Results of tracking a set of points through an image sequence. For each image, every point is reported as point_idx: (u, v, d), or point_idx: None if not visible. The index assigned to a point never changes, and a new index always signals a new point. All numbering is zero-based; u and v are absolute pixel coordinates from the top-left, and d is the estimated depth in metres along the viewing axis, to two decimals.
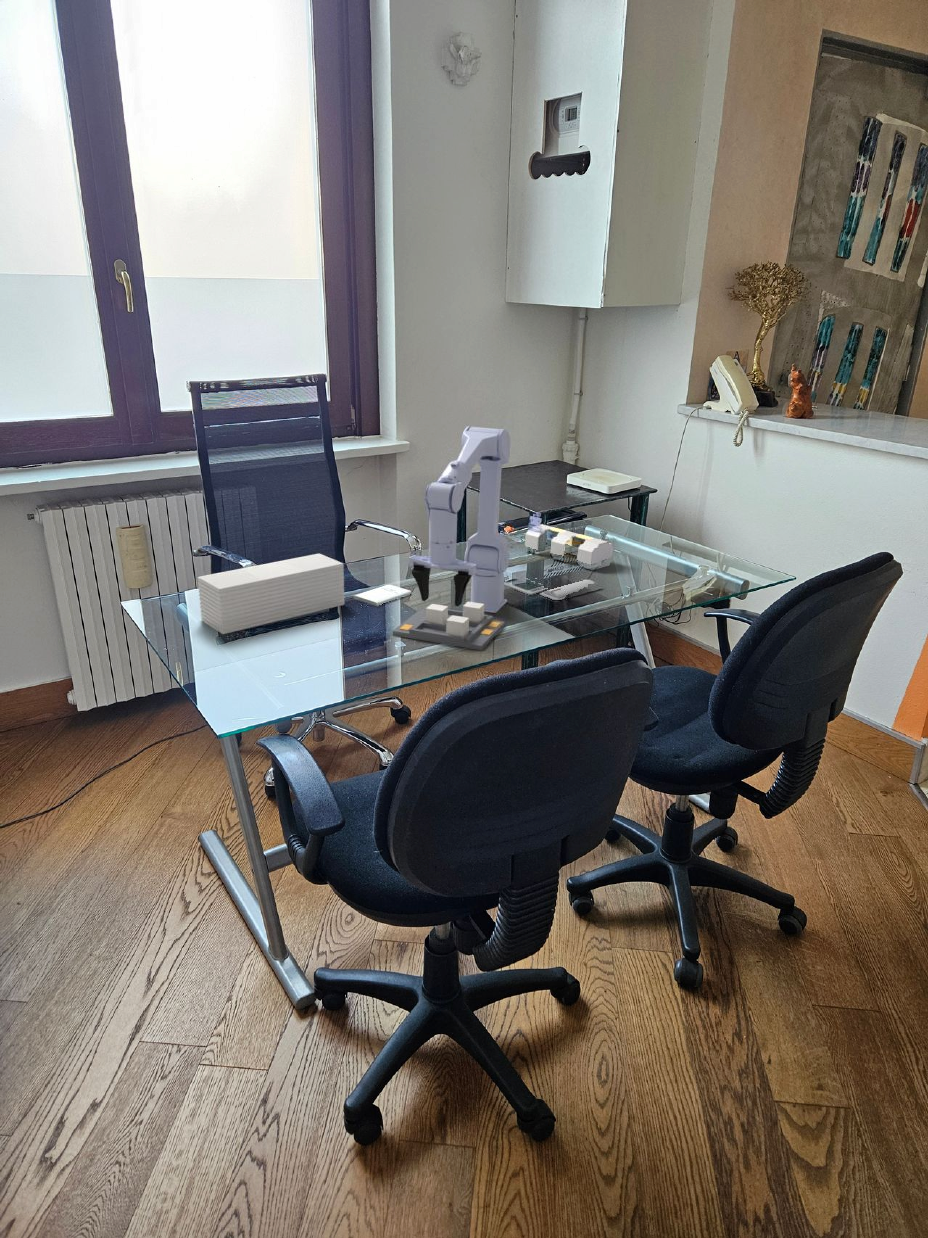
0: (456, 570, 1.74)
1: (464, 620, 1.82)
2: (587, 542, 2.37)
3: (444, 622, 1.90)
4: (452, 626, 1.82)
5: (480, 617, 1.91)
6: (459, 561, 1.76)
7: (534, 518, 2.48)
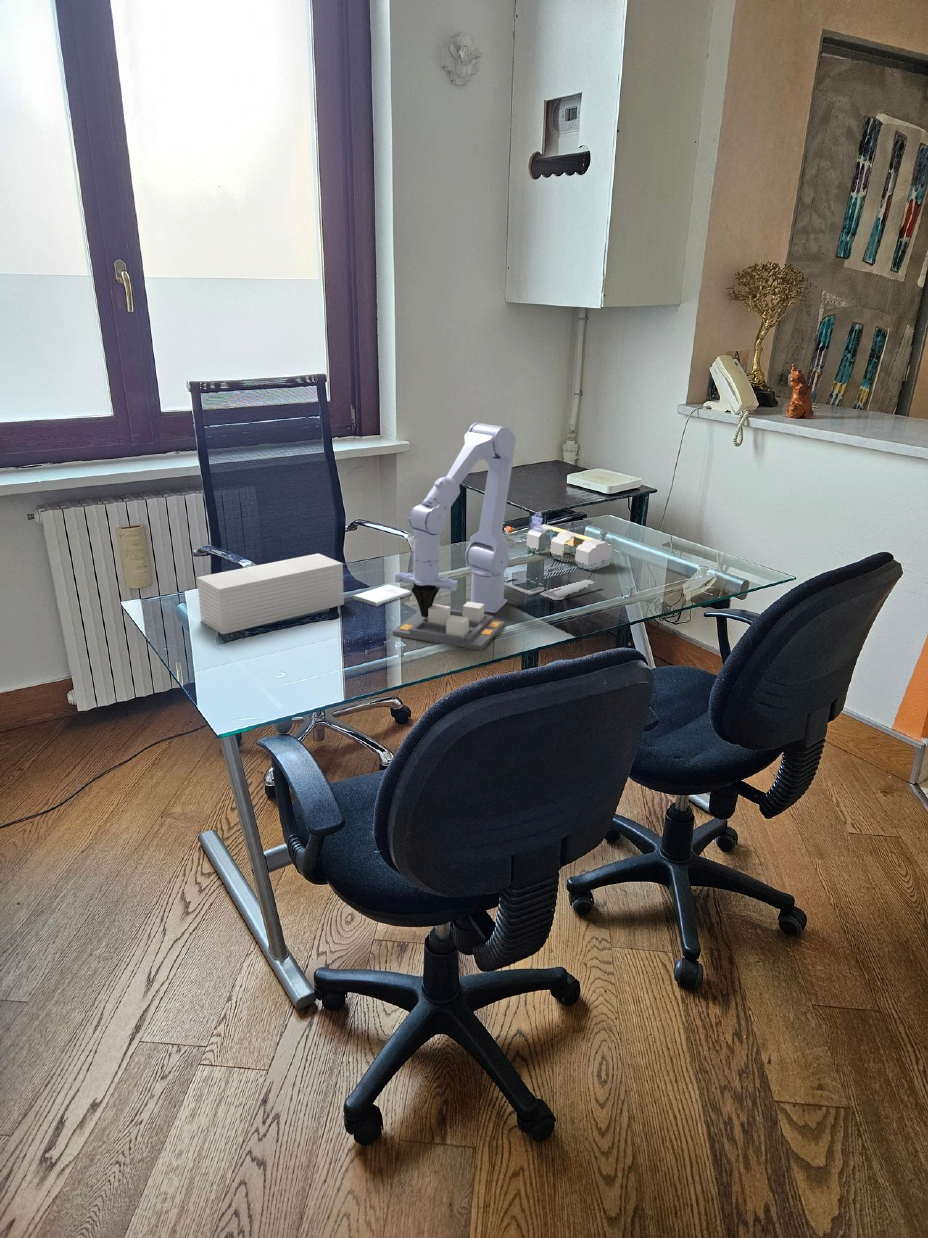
0: (439, 586, 1.87)
1: (464, 620, 1.82)
2: (585, 542, 2.37)
3: None
4: (452, 626, 1.82)
5: (480, 617, 1.91)
6: (442, 578, 1.89)
7: (535, 518, 2.48)
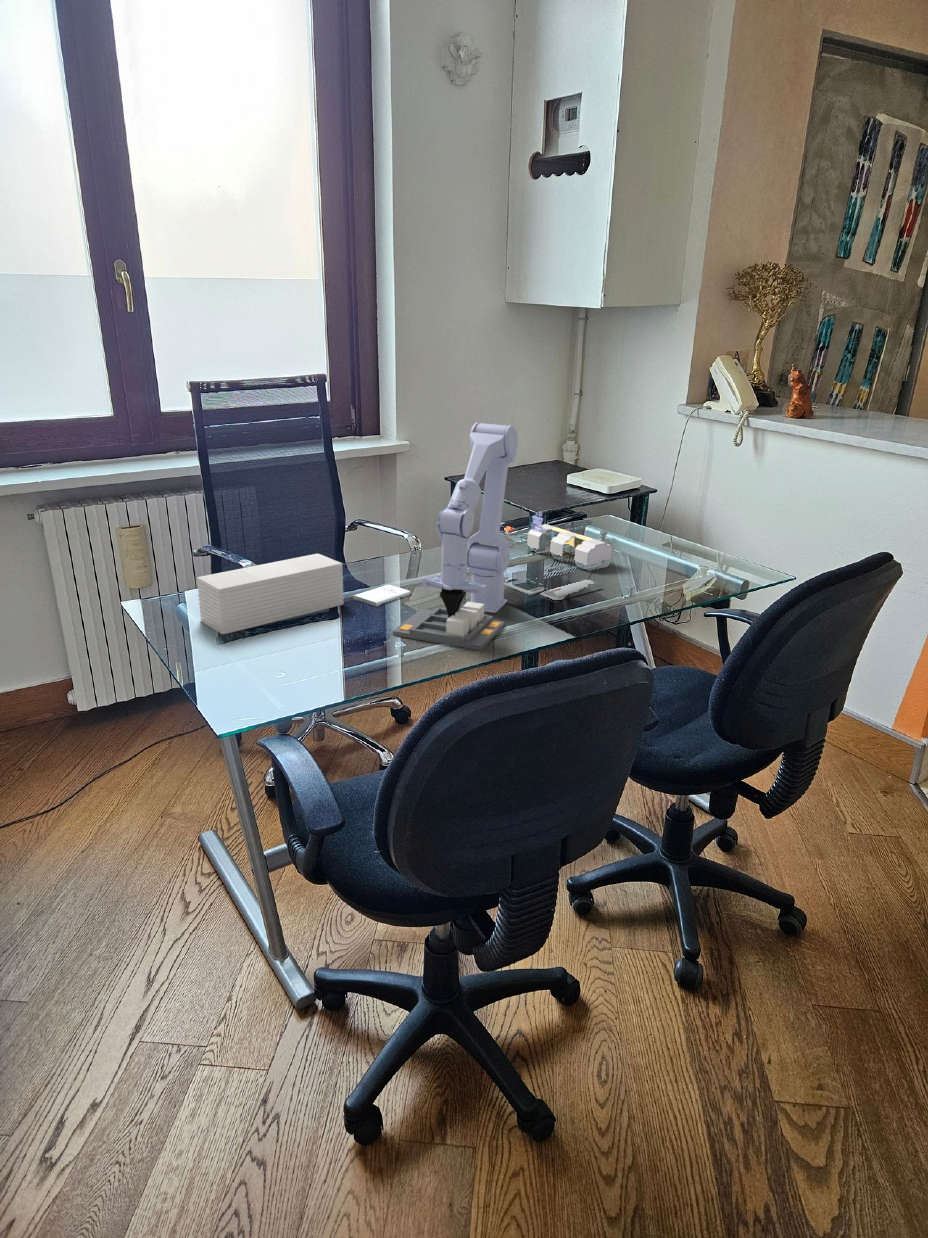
0: (467, 590, 1.85)
1: (464, 620, 1.82)
2: (585, 543, 2.37)
3: (473, 627, 1.88)
4: (452, 626, 1.82)
5: (480, 617, 1.91)
6: (469, 582, 1.87)
7: (536, 517, 2.48)
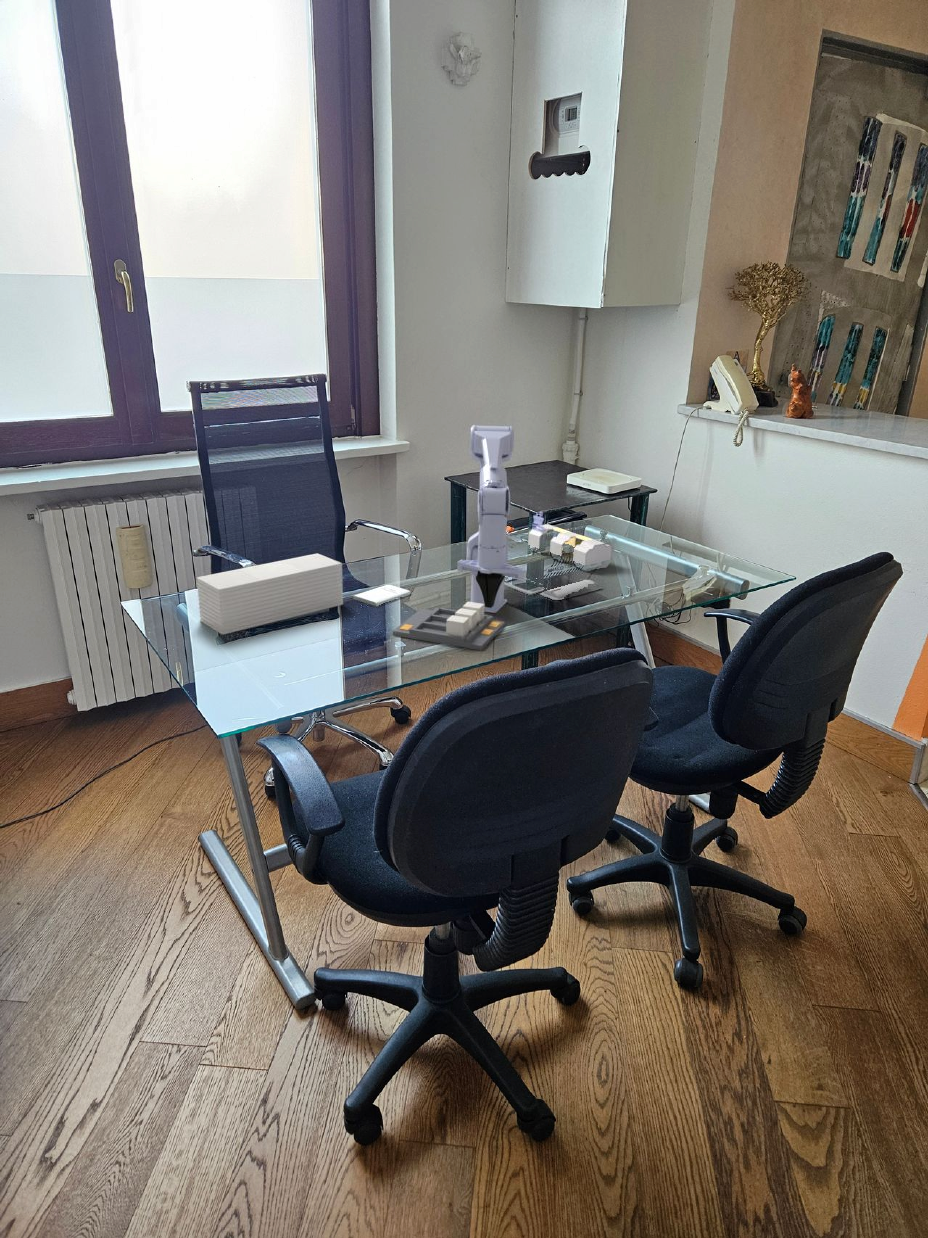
0: (505, 574, 1.75)
1: (464, 620, 1.82)
2: (584, 543, 2.36)
3: (473, 627, 1.88)
4: (452, 626, 1.82)
5: (480, 617, 1.91)
6: (508, 565, 1.77)
7: (537, 517, 2.49)
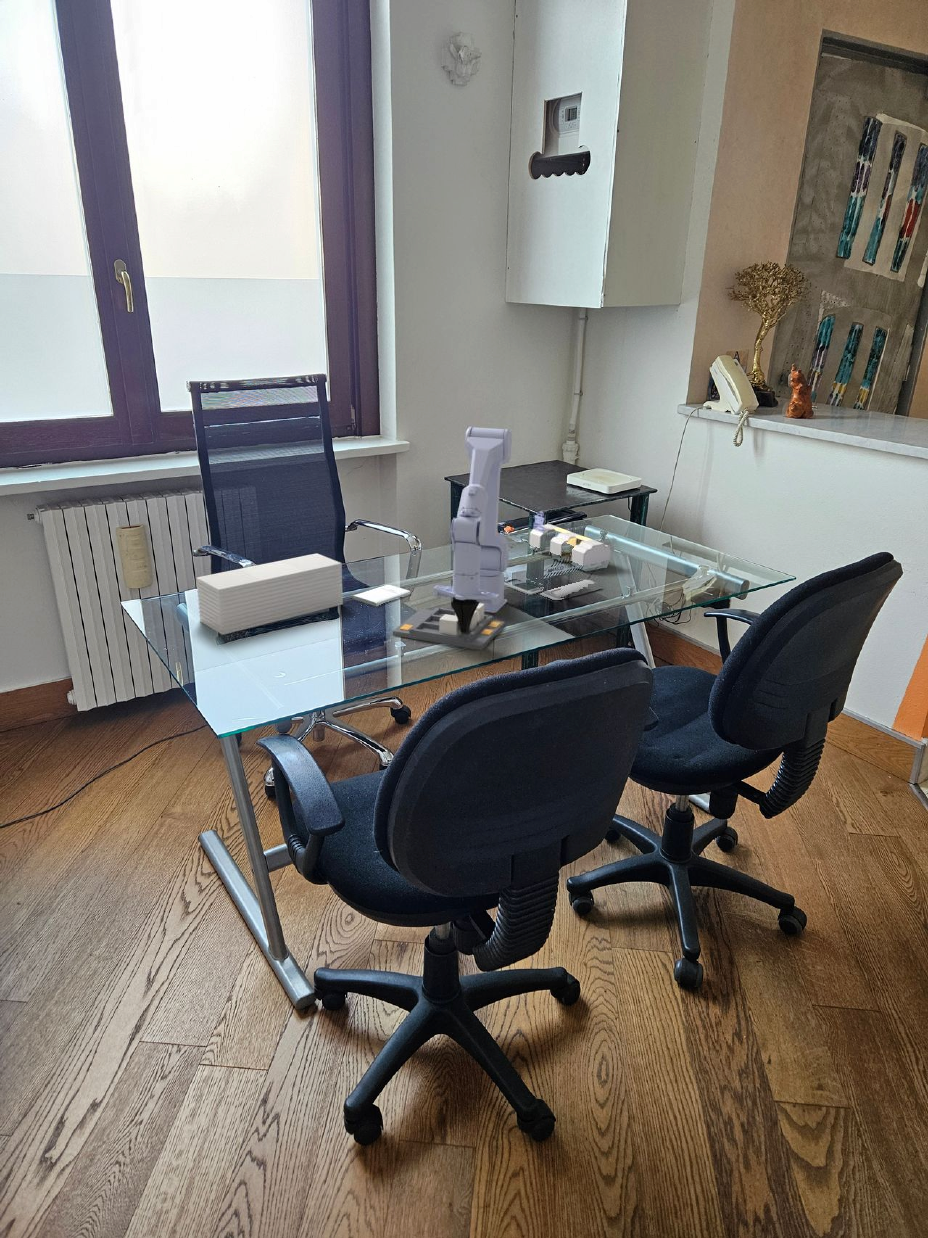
0: (479, 600, 1.79)
1: (457, 619, 1.83)
2: (582, 543, 2.36)
3: (473, 627, 1.88)
4: (445, 625, 1.83)
5: (480, 617, 1.91)
6: (482, 591, 1.81)
7: (538, 517, 2.49)
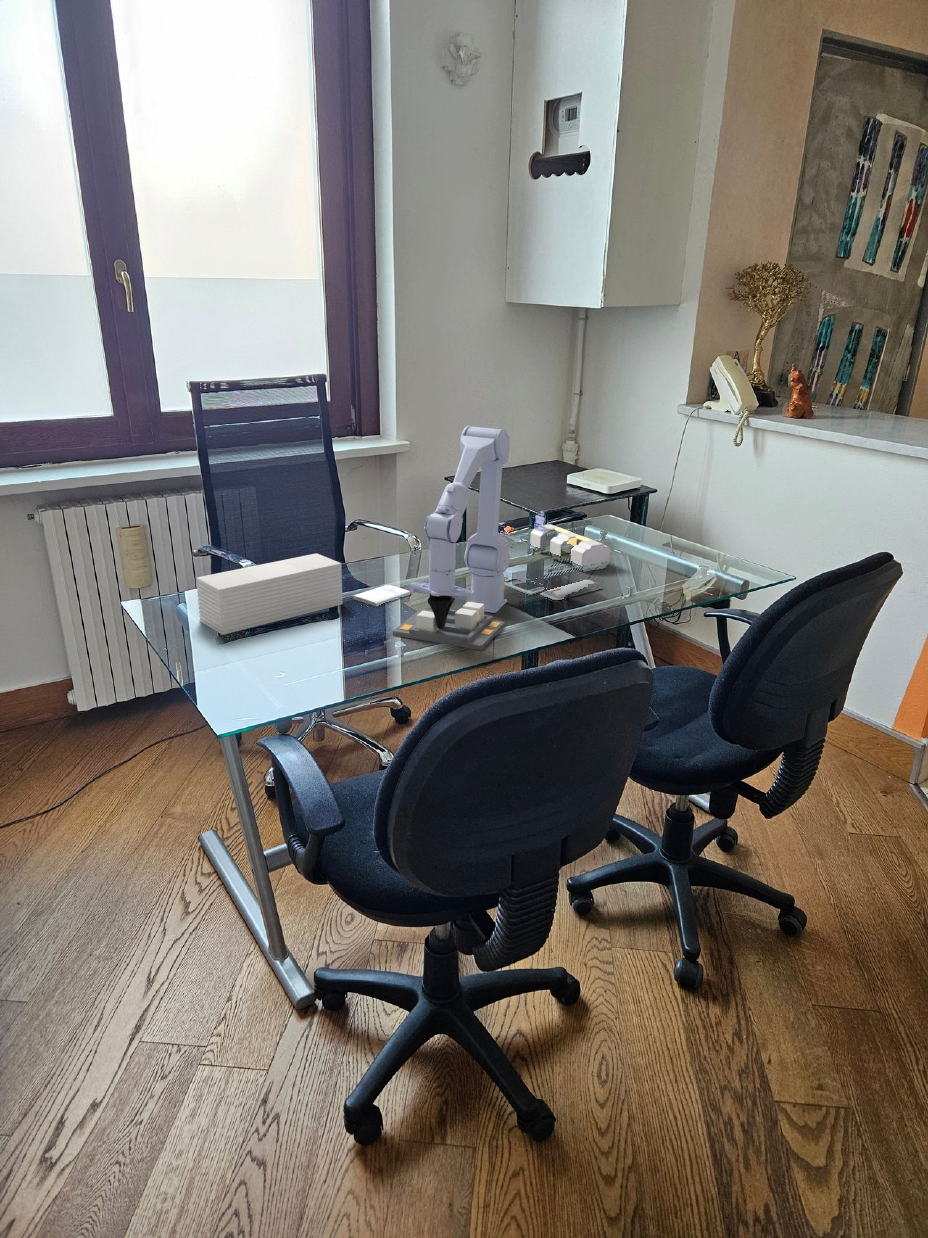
0: (455, 597, 1.81)
1: None
2: (582, 543, 2.36)
3: (473, 627, 1.88)
4: (422, 621, 1.84)
5: (480, 617, 1.91)
6: (458, 588, 1.83)
7: (539, 517, 2.49)
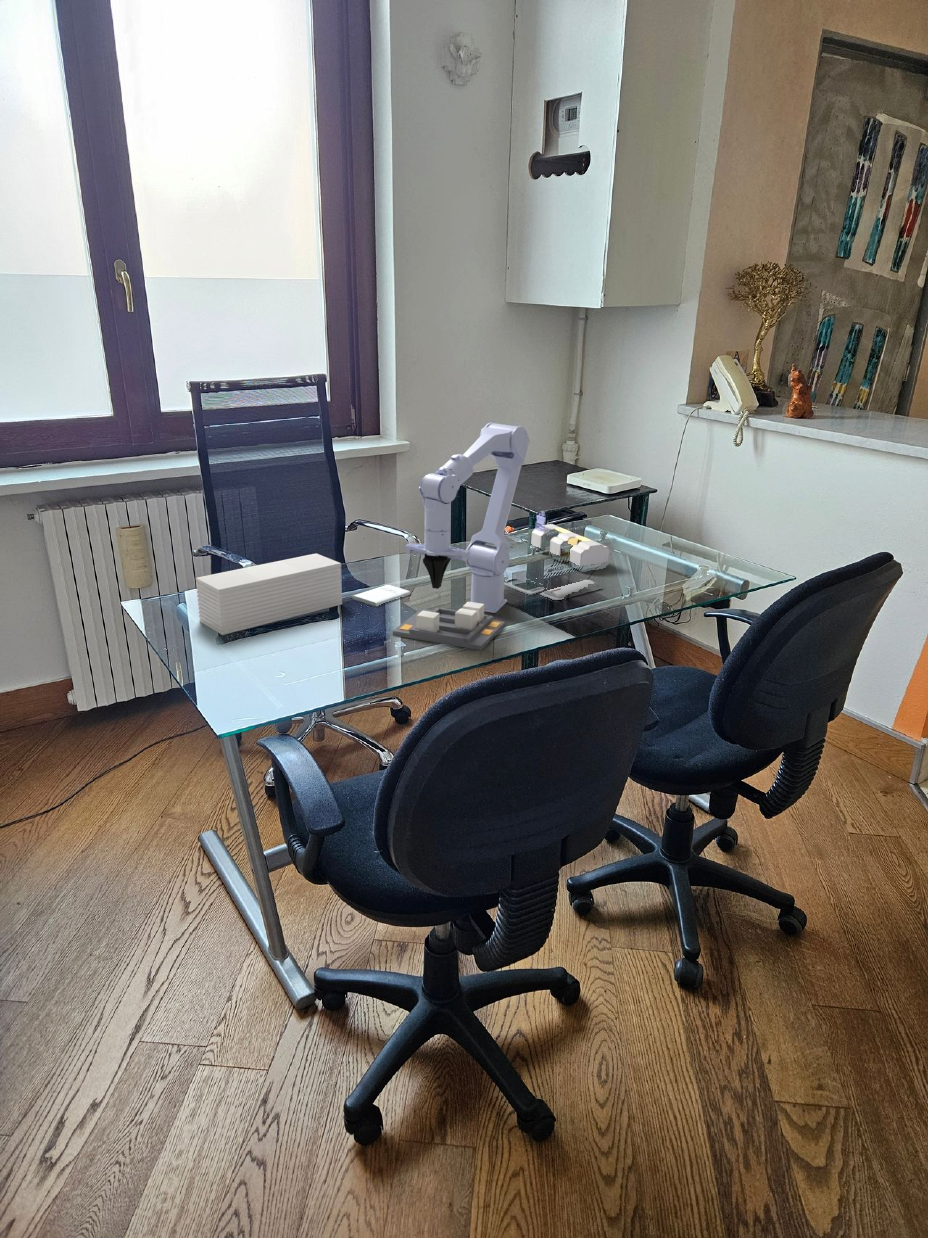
0: (450, 556, 1.85)
1: (435, 615, 1.85)
2: (581, 543, 2.36)
3: (473, 627, 1.88)
4: (422, 621, 1.84)
5: (480, 617, 1.91)
6: (453, 548, 1.86)
7: (539, 517, 2.49)
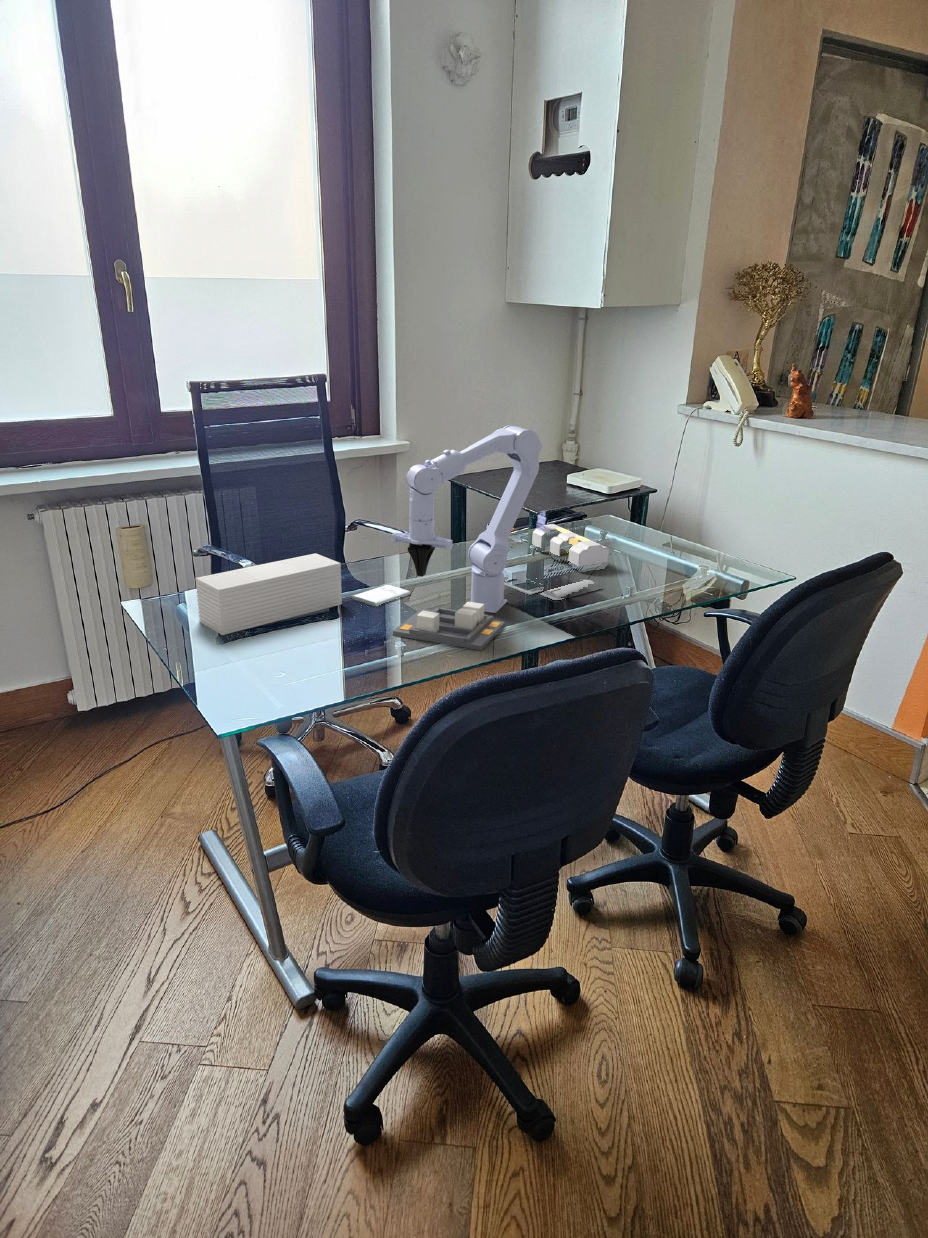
0: (434, 545, 1.92)
1: (435, 615, 1.85)
2: (580, 544, 2.36)
3: (473, 627, 1.88)
4: (422, 621, 1.84)
5: (480, 617, 1.91)
6: (437, 537, 1.93)
7: (540, 517, 2.49)
